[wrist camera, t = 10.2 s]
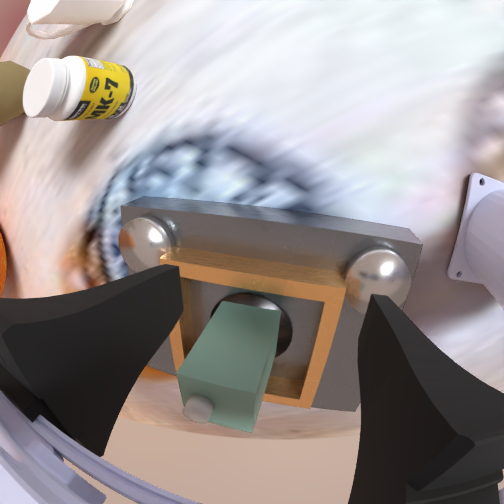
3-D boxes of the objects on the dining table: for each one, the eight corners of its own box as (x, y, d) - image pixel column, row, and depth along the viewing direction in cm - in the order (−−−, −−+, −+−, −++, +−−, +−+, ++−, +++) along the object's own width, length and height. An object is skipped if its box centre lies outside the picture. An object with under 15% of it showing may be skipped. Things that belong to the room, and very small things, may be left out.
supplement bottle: (118, 129, 19) (36, 137, 12) (90, 103, 19) (13, 106, 11) (148, 79, 17) (65, 65, 9) (116, 57, 17) (38, 44, 9)
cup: (151, 12, 14) (84, -18, 7) (71, 66, 18) (6, 63, 10) (144, -34, 12) (89, -66, 5) (70, 18, 15) (12, 8, 8)
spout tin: (281, 311, 18) (250, 409, 11) (275, 354, 19) (247, 446, 12) (222, 300, 19) (167, 386, 11) (223, 344, 20) (179, 427, 13)
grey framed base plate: (409, 228, 17) (433, 257, 12) (354, 387, 23) (354, 429, 19) (143, 196, 21) (102, 213, 16) (162, 348, 27) (139, 379, 23)
